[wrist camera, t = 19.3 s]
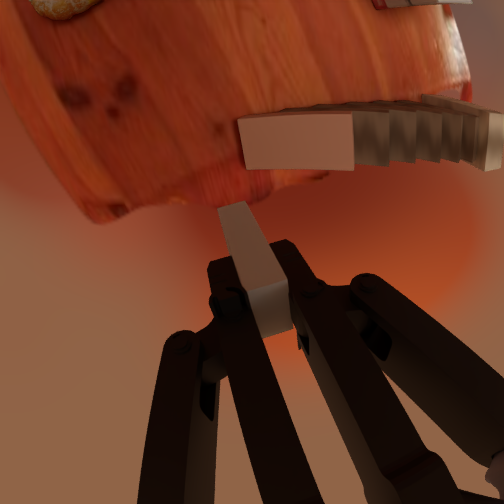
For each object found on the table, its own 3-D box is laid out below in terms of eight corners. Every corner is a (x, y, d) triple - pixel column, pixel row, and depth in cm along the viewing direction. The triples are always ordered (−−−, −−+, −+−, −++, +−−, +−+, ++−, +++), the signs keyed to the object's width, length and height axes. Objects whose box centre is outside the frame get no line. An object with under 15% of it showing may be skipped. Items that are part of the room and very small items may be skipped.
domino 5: (373, 101, 32) (461, 116, 24) (379, 100, 33) (462, 114, 25) (375, 143, 35) (458, 162, 27) (380, 140, 36) (460, 158, 28)
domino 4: (346, 103, 31) (442, 114, 24) (351, 101, 32) (442, 111, 26) (349, 148, 34) (439, 163, 28) (354, 144, 36) (440, 158, 29)
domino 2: (279, 111, 30) (388, 112, 24) (285, 108, 31) (388, 109, 26) (286, 160, 33) (389, 166, 28) (291, 154, 35) (389, 160, 29)
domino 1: (237, 119, 29) (351, 114, 25) (244, 115, 31) (352, 111, 26) (246, 169, 32) (353, 170, 28) (253, 163, 34) (354, 163, 30)
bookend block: (421, 94, 33) (489, 112, 23) (441, 95, 34) (505, 114, 23) (421, 142, 38) (484, 171, 27) (440, 140, 38) (500, 168, 28)
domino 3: (312, 106, 30) (416, 112, 24) (317, 104, 32) (415, 109, 26) (317, 154, 34) (415, 163, 28) (322, 149, 35) (414, 157, 29)
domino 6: (396, 100, 32) (475, 117, 24) (403, 99, 33) (479, 116, 25) (397, 140, 36) (472, 162, 27) (404, 138, 37) (475, 159, 28)
